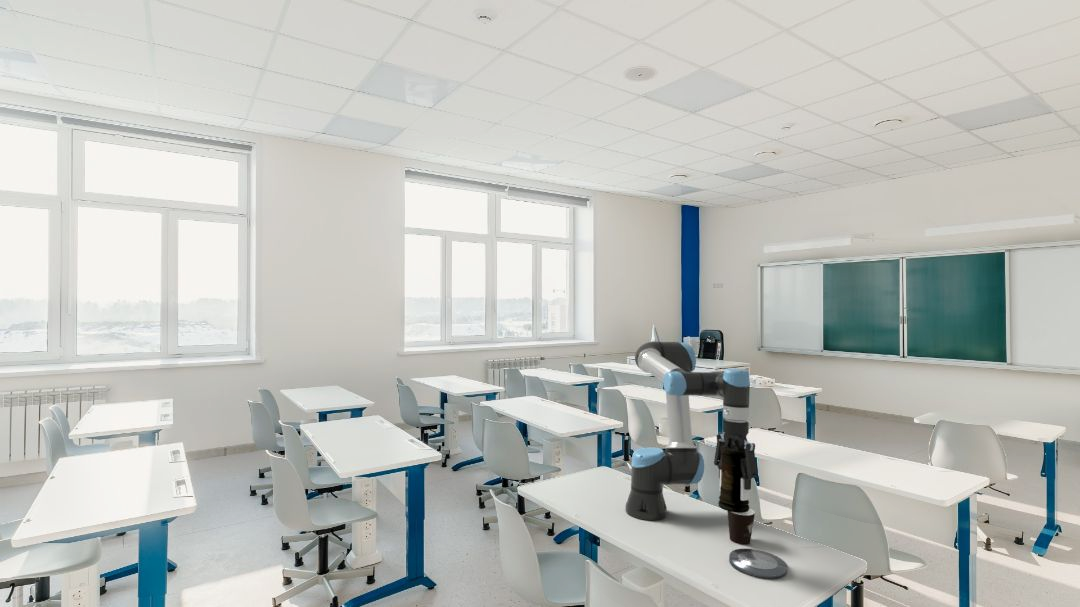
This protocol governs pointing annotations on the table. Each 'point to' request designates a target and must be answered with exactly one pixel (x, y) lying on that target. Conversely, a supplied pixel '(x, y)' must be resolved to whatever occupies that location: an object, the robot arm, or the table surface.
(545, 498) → the table surface
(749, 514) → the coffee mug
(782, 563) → the dark gray plate
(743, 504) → the container
